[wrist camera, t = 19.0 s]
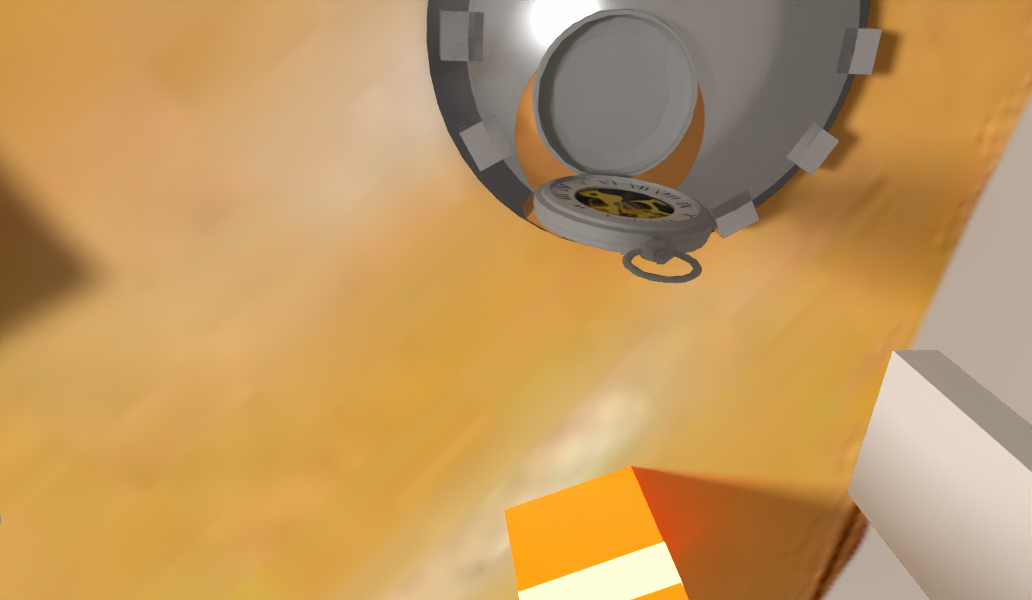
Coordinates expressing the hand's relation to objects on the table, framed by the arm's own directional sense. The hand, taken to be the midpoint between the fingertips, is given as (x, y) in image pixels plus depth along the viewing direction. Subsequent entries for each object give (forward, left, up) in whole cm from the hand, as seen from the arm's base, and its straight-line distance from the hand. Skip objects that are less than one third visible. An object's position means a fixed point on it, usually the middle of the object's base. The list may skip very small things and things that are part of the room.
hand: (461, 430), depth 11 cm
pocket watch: (0, +7, -22) cm, 23 cm away
